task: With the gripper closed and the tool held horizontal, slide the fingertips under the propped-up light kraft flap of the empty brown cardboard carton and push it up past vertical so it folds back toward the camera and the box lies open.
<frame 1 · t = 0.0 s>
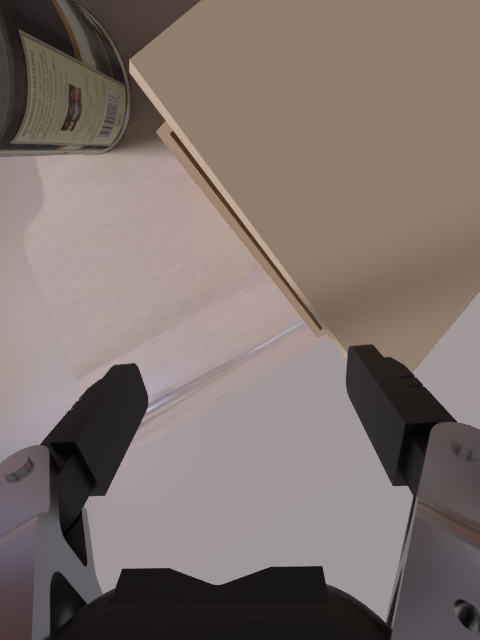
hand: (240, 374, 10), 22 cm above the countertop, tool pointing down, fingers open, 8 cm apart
carton: (315, 173, 26), on the countertop
carton flap: (404, 179, 13), point 15 cm above the countertop, hinge at 30.0°
coffee can: (72, 86, 23), on the countertop
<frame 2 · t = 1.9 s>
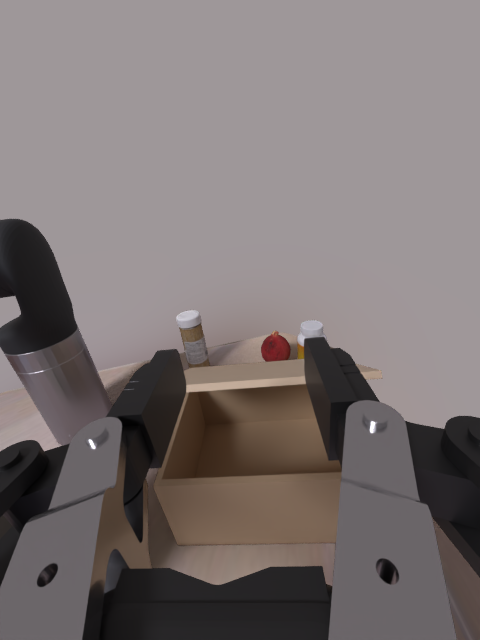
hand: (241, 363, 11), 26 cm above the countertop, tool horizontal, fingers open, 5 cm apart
supplement bottle: (311, 369, 52), on the countertop
carton: (268, 469, 34), on the countertop
carton flap: (257, 371, 28), point 15 cm above the countertop, hinge at 30.0°
sprinkles bottle: (200, 372, 55), on the countertop
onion: (276, 366, 54), on the countertop
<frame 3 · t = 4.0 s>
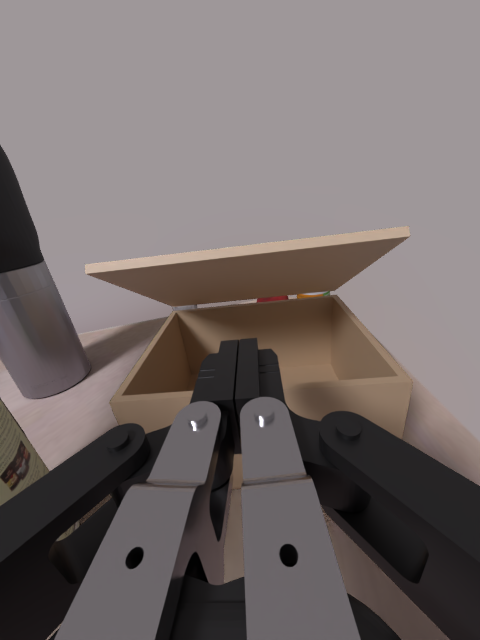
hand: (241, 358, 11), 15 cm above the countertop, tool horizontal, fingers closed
carton: (261, 414, 28), on the countertop
carton flap: (247, 281, 23), point 15 cm above the countertop, hinge at 30.0°
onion: (274, 323, 49), on the countertop
coffee can: (0, 575, 18), on the countertop
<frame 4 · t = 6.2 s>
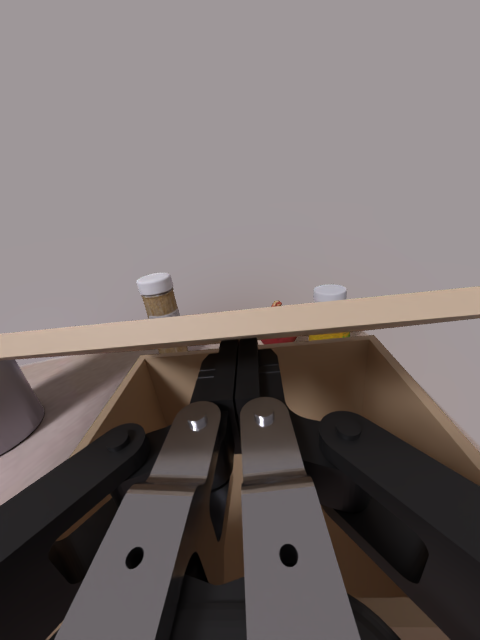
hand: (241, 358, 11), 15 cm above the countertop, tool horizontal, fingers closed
supplement bottle: (328, 354, 37), on the countertop
carton: (267, 517, 19), on the countertop
carton flap: (244, 334, 14), point 15 cm above the countertop, hinge at 30.3°, touching gripper
sprinkles bottle: (176, 360, 41), on the countertop
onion: (279, 351, 39), on the countertop
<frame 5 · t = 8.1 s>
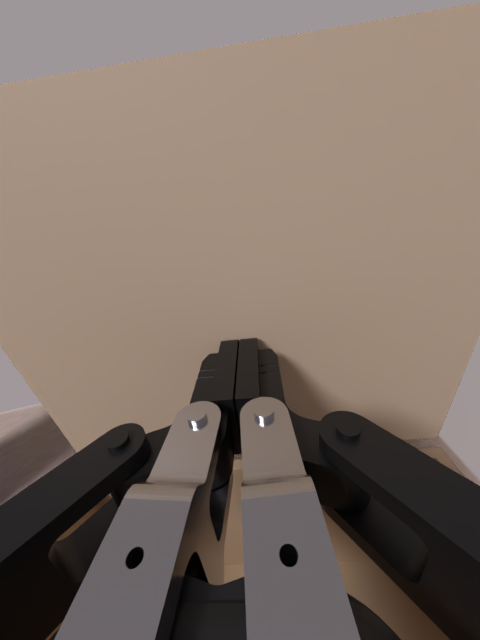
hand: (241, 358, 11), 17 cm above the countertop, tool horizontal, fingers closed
carton flap: (232, 323, 10), point 19 cm above the countertop, hinge at 83.3°, touching gripper
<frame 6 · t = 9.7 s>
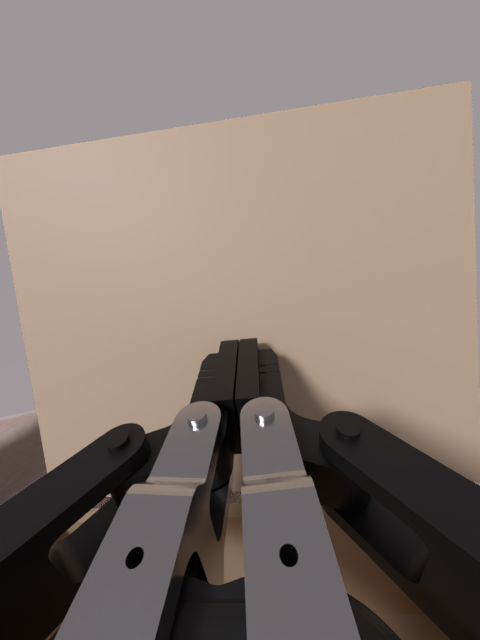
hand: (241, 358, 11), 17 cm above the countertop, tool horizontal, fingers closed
carton flap: (234, 316, 11), point 18 cm above the countertop, hinge at 108.6°, touching gripper
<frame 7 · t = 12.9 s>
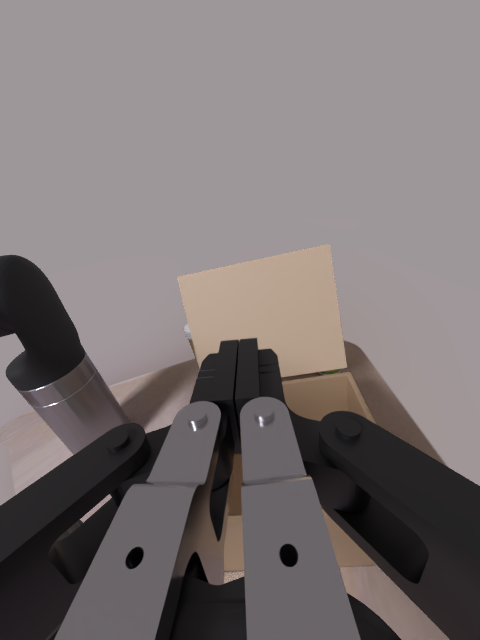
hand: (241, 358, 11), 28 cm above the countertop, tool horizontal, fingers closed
carton: (291, 485, 33), on the countertop
carton flap: (262, 321, 34), point 18 cm above the countertop, hinge at 108.7°
sprinkles bottle: (214, 379, 54), on the countertop
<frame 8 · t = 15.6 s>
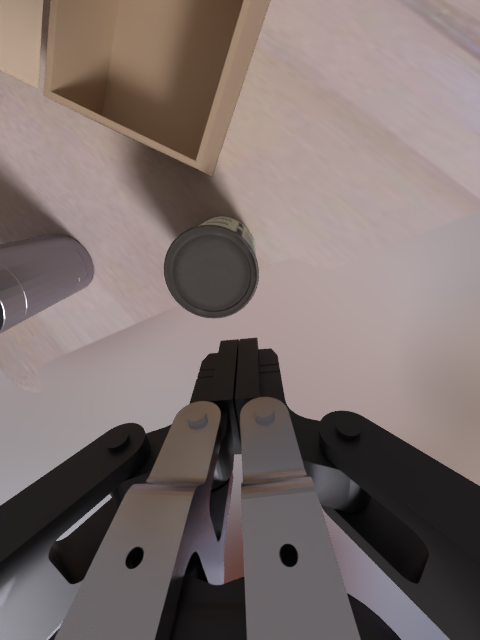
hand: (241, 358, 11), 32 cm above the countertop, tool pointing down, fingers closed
carton: (178, 59, 31), on the countertop
coffee can: (223, 250, 41), on the countertop
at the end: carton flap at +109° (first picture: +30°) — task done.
